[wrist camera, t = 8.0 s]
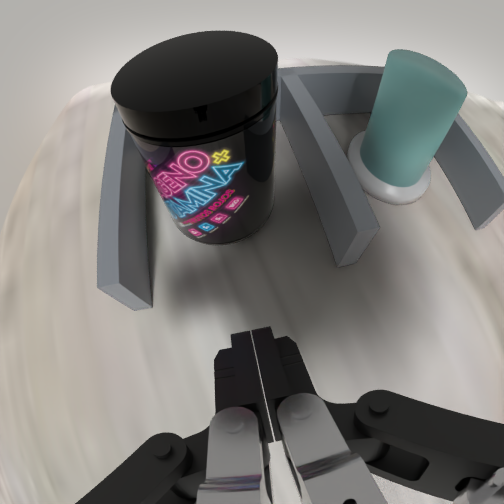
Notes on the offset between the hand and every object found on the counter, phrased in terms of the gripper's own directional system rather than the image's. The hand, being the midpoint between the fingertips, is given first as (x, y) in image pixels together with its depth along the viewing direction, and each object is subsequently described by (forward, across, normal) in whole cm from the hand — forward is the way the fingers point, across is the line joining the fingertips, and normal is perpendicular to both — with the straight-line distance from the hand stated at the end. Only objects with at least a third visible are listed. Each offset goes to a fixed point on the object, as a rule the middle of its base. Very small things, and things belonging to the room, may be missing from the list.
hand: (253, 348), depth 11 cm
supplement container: (+10, 0, -4) cm, 11 cm away
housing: (+11, -6, -5) cm, 13 cm away
